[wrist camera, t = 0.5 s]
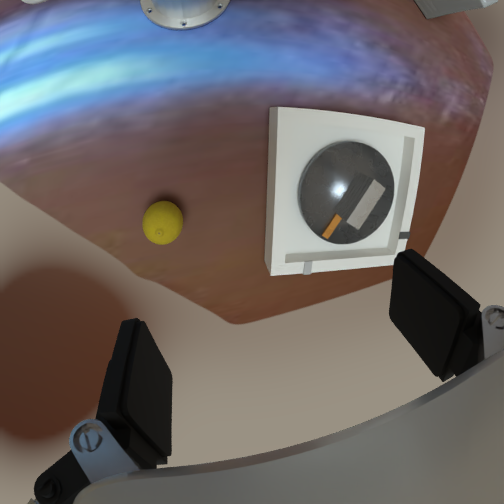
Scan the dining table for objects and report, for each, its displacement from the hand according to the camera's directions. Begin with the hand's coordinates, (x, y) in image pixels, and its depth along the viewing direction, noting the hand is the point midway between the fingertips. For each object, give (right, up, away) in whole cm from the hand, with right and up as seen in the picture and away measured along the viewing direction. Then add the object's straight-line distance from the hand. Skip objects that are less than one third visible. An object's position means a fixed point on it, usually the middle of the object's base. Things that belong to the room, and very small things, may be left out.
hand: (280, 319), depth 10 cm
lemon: (-14, +8, +32) cm, 36 cm away
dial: (+13, +11, +33) cm, 37 cm away
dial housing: (+13, +12, +35) cm, 39 cm away
